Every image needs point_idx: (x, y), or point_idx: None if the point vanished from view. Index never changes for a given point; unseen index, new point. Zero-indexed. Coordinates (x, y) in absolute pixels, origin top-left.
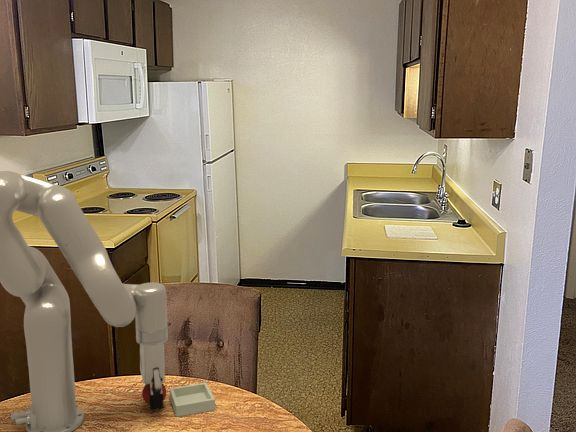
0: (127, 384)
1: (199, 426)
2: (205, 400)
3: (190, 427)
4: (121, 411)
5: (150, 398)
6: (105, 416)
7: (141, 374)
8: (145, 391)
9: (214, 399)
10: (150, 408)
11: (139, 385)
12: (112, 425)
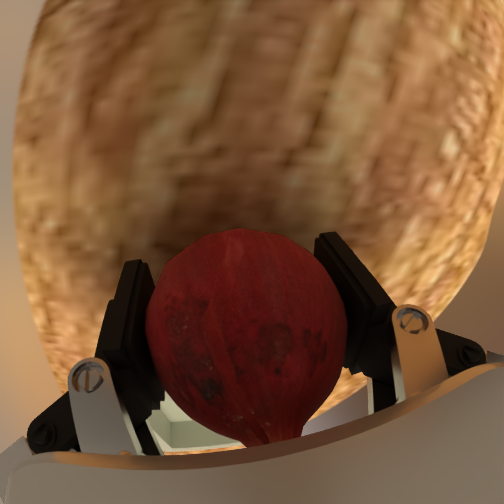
0: (491, 141)
1: (63, 386)
2: (158, 441)
3: (51, 369)
4: (229, 44)
5: (109, 327)
6: None
7: (377, 444)
8: (189, 318)
9: (164, 450)
10: (126, 266)
11: (467, 189)
12: (55, 20)
